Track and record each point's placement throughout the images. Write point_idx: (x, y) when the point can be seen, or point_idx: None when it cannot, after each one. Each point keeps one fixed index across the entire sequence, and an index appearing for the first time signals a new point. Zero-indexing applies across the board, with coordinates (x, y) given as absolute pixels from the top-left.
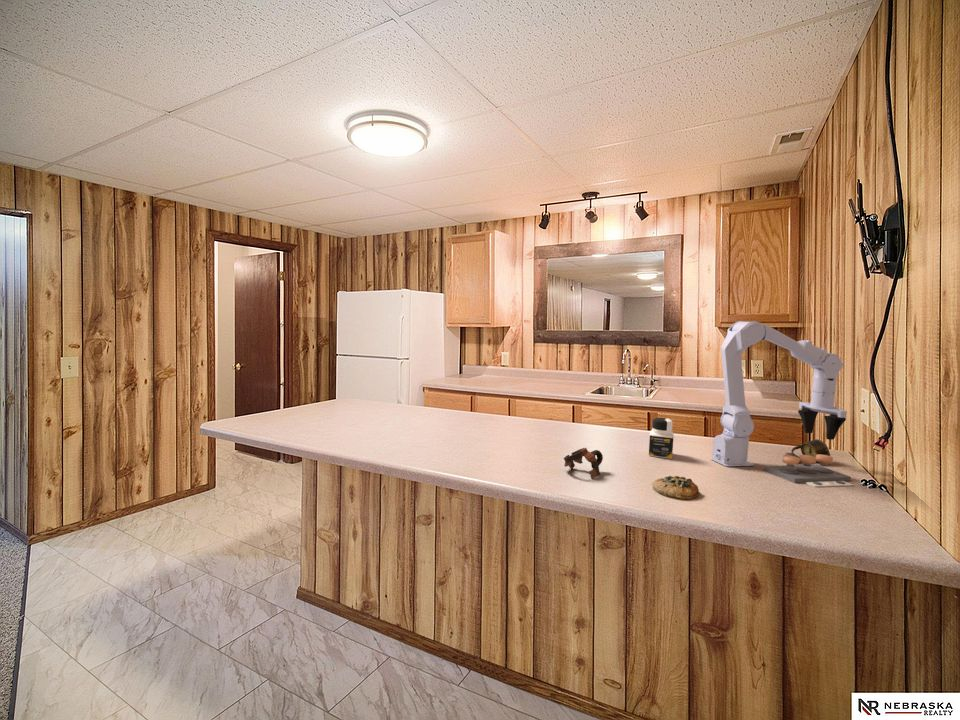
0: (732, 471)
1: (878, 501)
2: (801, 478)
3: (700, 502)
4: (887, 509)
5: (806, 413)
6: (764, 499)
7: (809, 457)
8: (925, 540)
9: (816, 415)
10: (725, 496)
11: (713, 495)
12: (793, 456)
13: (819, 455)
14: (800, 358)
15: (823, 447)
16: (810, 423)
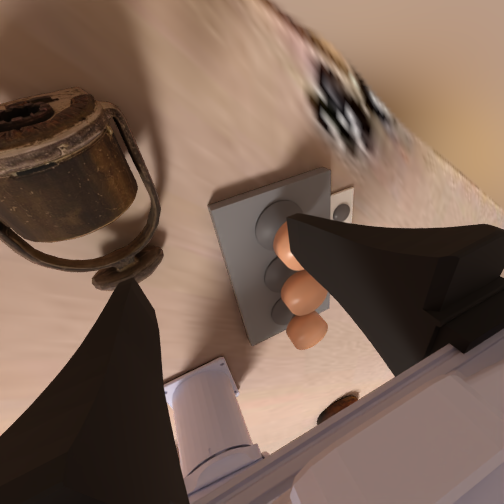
0: (263, 381)
1: (422, 192)
2: (329, 296)
3: (363, 390)
4: (443, 202)
5: (173, 486)
6: (370, 345)
7: (315, 295)
8: (496, 220)
9: (99, 397)
10: (355, 376)
11: (350, 385)
12: (305, 329)
13: (295, 259)
14: None
15: (106, 151)
16: (139, 350)
